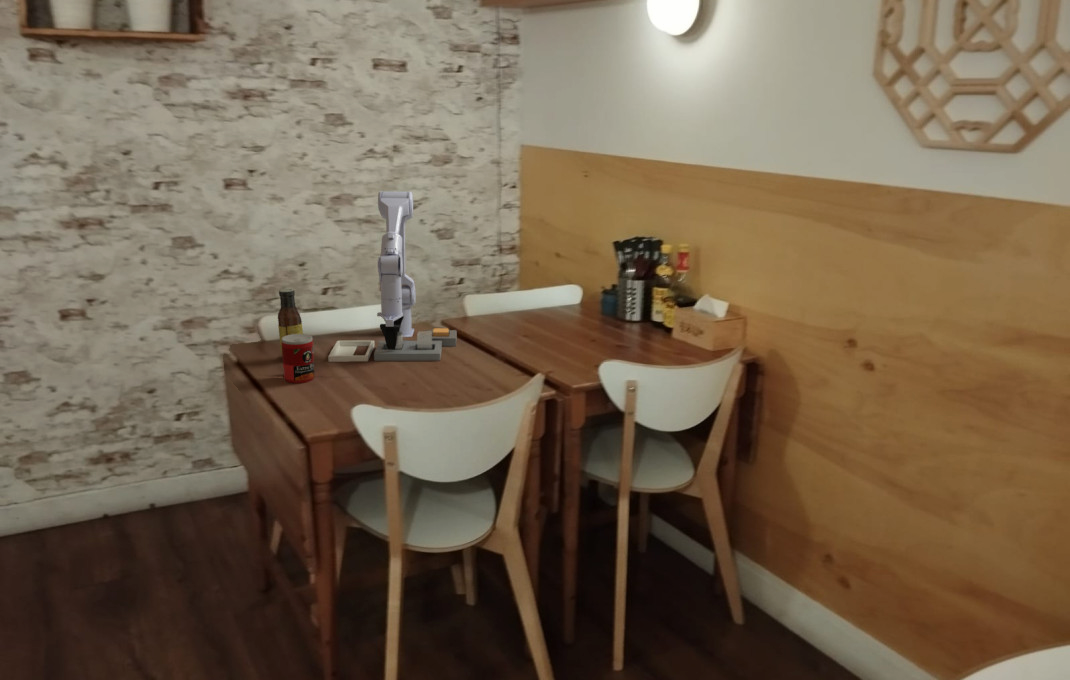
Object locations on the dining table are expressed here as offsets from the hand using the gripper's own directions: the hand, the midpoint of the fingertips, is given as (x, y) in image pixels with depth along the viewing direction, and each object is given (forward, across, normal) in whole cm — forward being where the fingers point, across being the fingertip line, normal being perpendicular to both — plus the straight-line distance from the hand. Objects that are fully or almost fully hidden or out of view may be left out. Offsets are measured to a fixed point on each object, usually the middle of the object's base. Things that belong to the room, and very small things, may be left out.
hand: (392, 344), depth 235 cm
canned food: (+3, +20, -22) cm, 30 cm away
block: (+3, 0, +9) cm, 9 cm away
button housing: (+3, -12, +13) cm, 18 cm away
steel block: (+3, 0, +1) cm, 3 cm away
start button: (+2, -12, +13) cm, 18 cm away
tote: (+3, -1, -12) cm, 12 cm away
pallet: (+3, 0, +4) cm, 6 cm away
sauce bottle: (+3, +4, -27) cm, 28 cm away
